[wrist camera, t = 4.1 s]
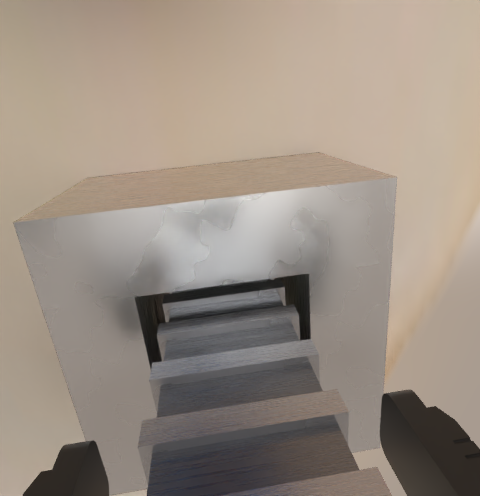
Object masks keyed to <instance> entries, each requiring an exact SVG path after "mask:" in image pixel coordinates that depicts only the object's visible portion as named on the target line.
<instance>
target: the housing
mask: <svg viewBox="0 0 480 496" xmlns="http://www.w3.org/2000/svg"><path fill="white" fill-rule="evenodd" d="M396 186H397V177H395V176H392V175H389V174H385V173H382V172H379V171H376V170H373V169H370V168H366V167H363V166H360V165H357V164H354V163H351V162H347V161H344V160H341V159H338V158H335V157H332V156H328V155H325V154H322V153H319V152H318V153H309V154H299V155H290V156H281V157H272V158H263V159H254V160H245V161H236V162H227V163H218V164H209V165H200V166H191V167H182V168H173V169H164V170H155V171H146V172H137V173H128V174H119V175H110V176H101V177H92V178H87V179H85V180H83V181H82V182H80V183H78V184H77V185H75V186H73V187H72V188H70V189H68V190H67V191H65V192H63V193H62V194H60V195H58V196H57V197H55V198H53V199H52V200H50V201H48V202H47V203H45V204H43V205H42V206H40V207H38V208H37V209H35V210H33V211H31V212H30V213H28V214H26V215H25V216H23V217H21V218H20V219H18V220H16V221H15V222H13V224H14V227H15V230H16V233H17V236H18V239H19V242H20V245H21V248H22V251H23V254H24V257H25V260H26V263H27V266H28V269H29V272H30V275H31V278H32V281H33V284H34V287H35V290H36V293H37V296H38V299H39V302H40V305H41V308H42V311H43V314H44V317H45V320H46V323H47V326H48V329H49V332H50V335H51V338H52V341H53V344H54V347H55V350H56V353H57V356H58V359H59V362H60V365H61V368H62V371H63V374H64V377H65V380H66V383H67V386H68V389H69V392H70V395H71V398H72V401H73V404H74V407H75V410H76V413H77V416H78V419H79V422H80V425H81V428H82V431H83V434H84V437H85V440H86V442H87V441H93V440H94V441H95V442H96V444H97V446H98V449H99V452H100V456H101V459H102V462H103V465H104V468H105V471H106V474H107V477H108V482H109V496H110V495H116V494H122V493H127V492H133V491H139V490H144V489H148V484H147V481H146V477H145V473H144V469H143V466H142V462H141V458H140V454H139V450H138V442H139V436H140V430H141V425H142V420H147V419H153V418H157V412H156V408H155V404H154V399H153V395H152V390H151V386H150V382H149V378H150V373H151V367H152V363H154V362H161V361H162V358H161V353H160V348H159V344H158V339H157V332H158V326H159V323H166V320H165V315H164V310H163V305H162V303H163V297H164V295H167V294H169V292H175V291H182V290H190V289H197V288H204V287H212V286H219V285H226V284H234V283H241V282H248V281H256V280H263V279H271V278H275V280H276V279H281V281H282V283H283V285H284V287H285V303H286V305H292V304H294V306H295V308H296V310H297V312H298V314H299V326H300V341H301V340H307V339H312V341H313V343H314V345H315V347H316V349H317V351H318V353H319V375H320V386H321V388H322V390H323V391H326V390H332V389H337V390H338V392H339V394H340V396H341V398H342V400H343V401H344V403H345V405H346V407H347V409H348V411H349V428H348V446H349V449H350V451H351V453H354V452H359V451H365V450H371V449H376V448H380V418H381V402H382V396H383V392H384V376H385V360H386V345H387V329H388V313H389V297H390V281H391V266H392V250H393V234H394V218H395V202H396Z"/></svg>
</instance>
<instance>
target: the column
mask: <svg viewBox="0 0 480 496" xmlns="http://www.w3.org/2000/svg"><path fill="white" fill-rule="evenodd" d="M162 305H163V310H164V315H165V320H166V323H159V326H158V332H157V339H158V344H159V348H160V353H161V358H162V361H161V362H154V363H152V367H151V373H150V378H149V382H150V386H151V390H152V395H153V399H154V404H155V408H156V412H157V418H153V419H147V420H142V425H141V430H140V436H139V442H138V450H139V454H140V458H141V462H142V466H143V469H144V473H145V477H146V481H147V484H148V490H147V496H392V495H391V493H390V491H389V489H388V487H387V485H386V483H385V481H384V479H383V477H382V475H381V473H380V472H379V470H378V468H377V467H374V468H368V469H363V470H359V468H358V466H357V464H356V462H355V459H354V457H353V455H352V453H351V451H350V449H349V446H348V428H349V411H348V409H347V407H346V405H345V403H344V401H343V400H342V398H341V396H340V394H339V392H338V390H337V389H332V390H326V391H323V390H322V388H321V386H320V375H319V353H318V351H317V349H316V347H315V345H314V343H313V341H312V339H307V340H301V341H300V326H299V314H298V312H297V310H296V308H295V306H294V304H292V305H286V303H285V287H284V285H283V283H282V281H281V279H276V280H275V278H271V279H263V280H256V281H248V282H241V283H234V284H226V285H219V286H212V287H204V288H197V289H190V290H182V291H175V292H169V294H167V295H164V297H163V303H162Z"/></svg>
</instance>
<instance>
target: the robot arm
mask: <svg viewBox="0 0 480 496" xmlns="http://www.w3.org/2000/svg"><path fill="white" fill-rule="evenodd" d="M380 441H381V445H382V448H383V451H384V454H385V456H386V458H387V460H388V461H389V463H390V465H391V467H392V469H393V470H394V472H395V474H396V476H397V478H398V480H399V481H400V483H401V485H402V487H403V489H404V490H405V492H406V494H407V496H480V449H479V448H478V447H477V445H476V444H475V443H474V442H473V441H471V440H470V437H469V436H468V435H467V434H466V432H465V431H464V430H463V429H462V428H461V427H460V425H459V424H458V423H457V422H456V421H455V420H454V419H453V418H451V417H450V416H449V415H447V414H446V413H444V412H443V411H441V410H440V409H438V408H437V407H436V406H434V407H428V408H426V406H425V405H424V404H423V402H422V401H421V400H420V399H419V397H418V396H417V395H416V394H415V393H414V392H413V391H412V390H404V391H398V392H391V393H386V394H383V396H382V402H381V418H380ZM23 496H109V482H108V477H107V474H106V471H105V468H104V465H103V462H102V459H101V456H100V452H99V449H98V446H97V444H96V442H95V441H94V440H93V441H87V442H80V443H74V444H68V445H64V446H63V447H62V448H61V450H60V452H59V454H58V457H57V459H56V462H55V464H54V467H53V469H52V470H48V471H42V472H41V473H40V474H39V475H38V476H37V477H36V479H35V480H34V481H33V482H32V484H31V485H30V486H29V487H28V489H27V490H26V491H25V492H24V494H23Z"/></svg>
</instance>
